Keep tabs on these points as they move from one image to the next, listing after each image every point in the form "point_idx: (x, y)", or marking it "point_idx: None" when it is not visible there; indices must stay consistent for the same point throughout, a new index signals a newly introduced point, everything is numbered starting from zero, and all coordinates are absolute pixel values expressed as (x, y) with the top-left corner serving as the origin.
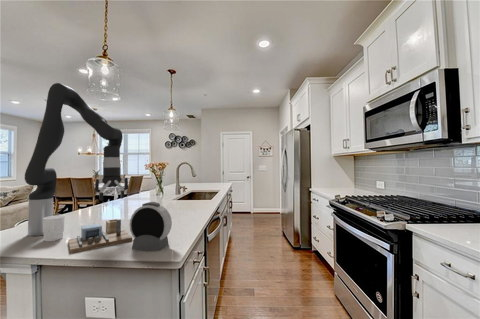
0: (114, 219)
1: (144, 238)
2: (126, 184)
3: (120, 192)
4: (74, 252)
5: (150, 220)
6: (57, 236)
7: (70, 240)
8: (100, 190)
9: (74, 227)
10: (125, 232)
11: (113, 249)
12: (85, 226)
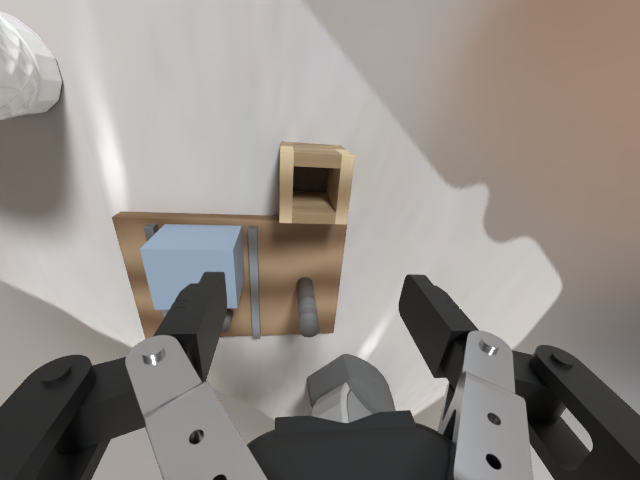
0: (330, 159)
1: None
2: None
3: (439, 317)
4: None
5: None
6: (30, 113)
7: (124, 238)
8: (147, 431)
9: None
10: (337, 263)
11: (266, 359)
12: (162, 269)
